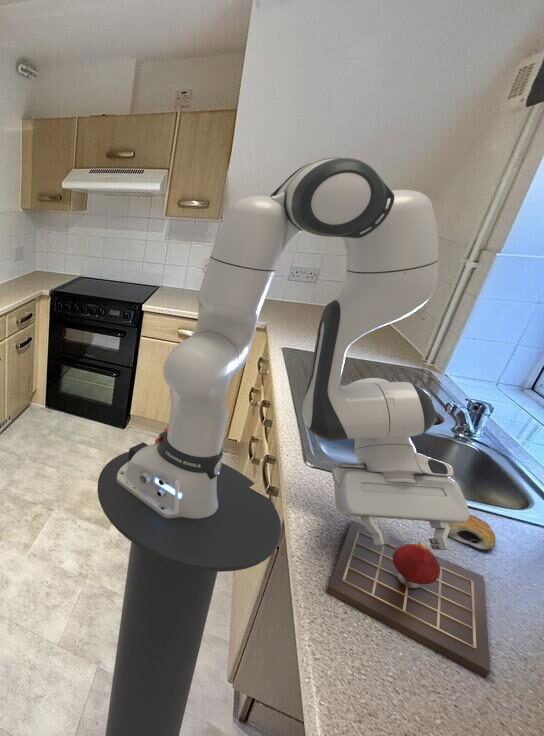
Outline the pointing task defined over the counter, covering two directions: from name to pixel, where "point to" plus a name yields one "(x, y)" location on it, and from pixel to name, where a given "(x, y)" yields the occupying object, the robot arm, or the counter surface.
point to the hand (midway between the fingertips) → (411, 547)
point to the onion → (416, 563)
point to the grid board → (415, 599)
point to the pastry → (473, 533)
